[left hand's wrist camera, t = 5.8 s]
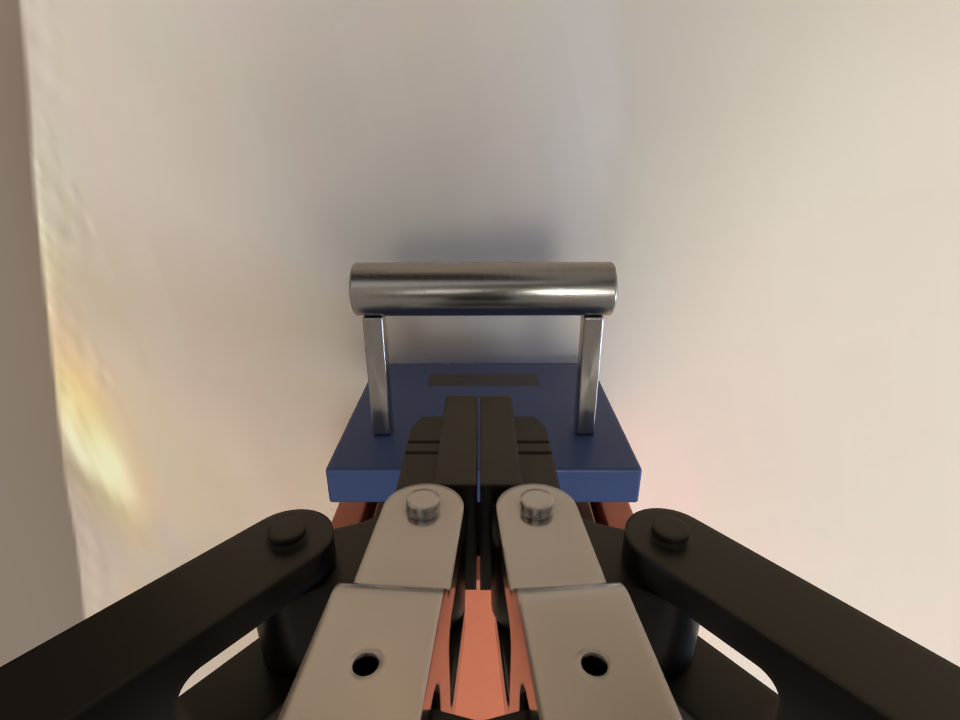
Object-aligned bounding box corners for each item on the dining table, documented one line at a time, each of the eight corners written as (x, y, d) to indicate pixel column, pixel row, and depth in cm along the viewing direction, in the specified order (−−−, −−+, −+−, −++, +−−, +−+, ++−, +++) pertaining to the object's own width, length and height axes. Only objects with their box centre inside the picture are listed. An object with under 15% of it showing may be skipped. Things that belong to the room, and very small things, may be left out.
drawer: (365, 231, 21) (299, 281, 14) (601, 230, 21) (667, 281, 14) (401, 658, 30) (373, 832, 22) (567, 658, 30) (595, 833, 22)
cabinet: (372, 417, 25) (307, 580, 16) (594, 416, 25) (660, 580, 16) (398, 696, 33) (363, 922, 23) (570, 697, 33) (606, 924, 23)
